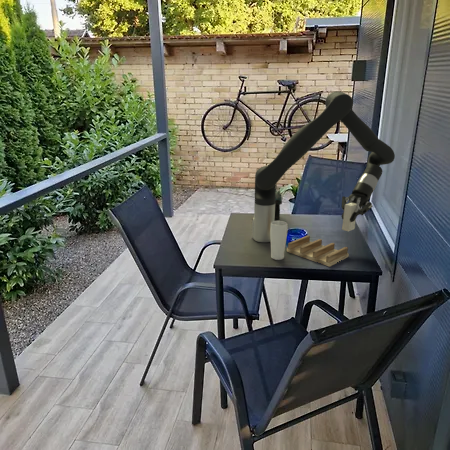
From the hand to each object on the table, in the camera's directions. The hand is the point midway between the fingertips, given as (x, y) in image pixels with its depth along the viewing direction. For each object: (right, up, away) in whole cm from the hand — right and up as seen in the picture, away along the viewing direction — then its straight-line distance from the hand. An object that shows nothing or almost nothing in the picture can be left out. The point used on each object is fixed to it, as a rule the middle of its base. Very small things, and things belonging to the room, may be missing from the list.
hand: (347, 219), depth 163 cm
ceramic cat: (-25, 0, +45) cm, 51 cm away
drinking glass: (-29, -16, -2) cm, 33 cm away
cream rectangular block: (+1, -4, +3) cm, 5 cm away
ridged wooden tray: (-12, -14, +2) cm, 19 cm away
